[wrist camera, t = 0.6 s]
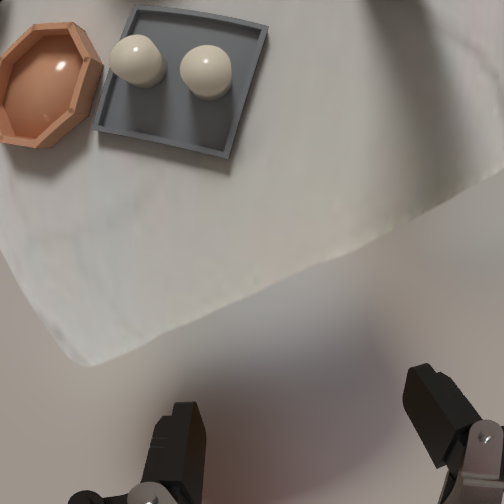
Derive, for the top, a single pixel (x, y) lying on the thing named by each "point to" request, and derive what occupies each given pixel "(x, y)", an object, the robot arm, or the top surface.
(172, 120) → the tray
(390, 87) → the top surface
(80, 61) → the terracotta bowl
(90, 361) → the top surface
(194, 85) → the pebble
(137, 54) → the pebble
